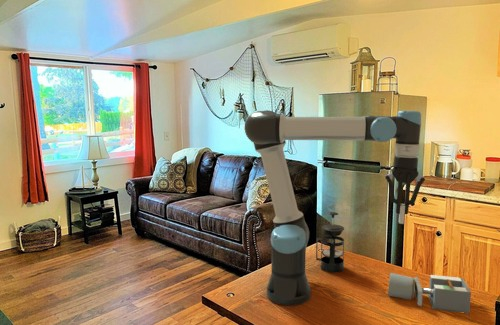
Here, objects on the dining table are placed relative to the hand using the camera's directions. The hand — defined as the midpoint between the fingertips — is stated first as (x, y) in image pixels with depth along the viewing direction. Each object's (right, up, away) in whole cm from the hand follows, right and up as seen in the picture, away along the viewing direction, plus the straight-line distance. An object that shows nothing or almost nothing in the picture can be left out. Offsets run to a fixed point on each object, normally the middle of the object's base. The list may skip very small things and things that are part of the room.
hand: (401, 222), depth 132 cm
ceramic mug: (-1, -25, -3) cm, 25 cm away
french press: (-20, -22, +21) cm, 36 cm away
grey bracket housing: (+11, -25, -9) cm, 29 cm away
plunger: (+8, -24, -8) cm, 27 cm away
